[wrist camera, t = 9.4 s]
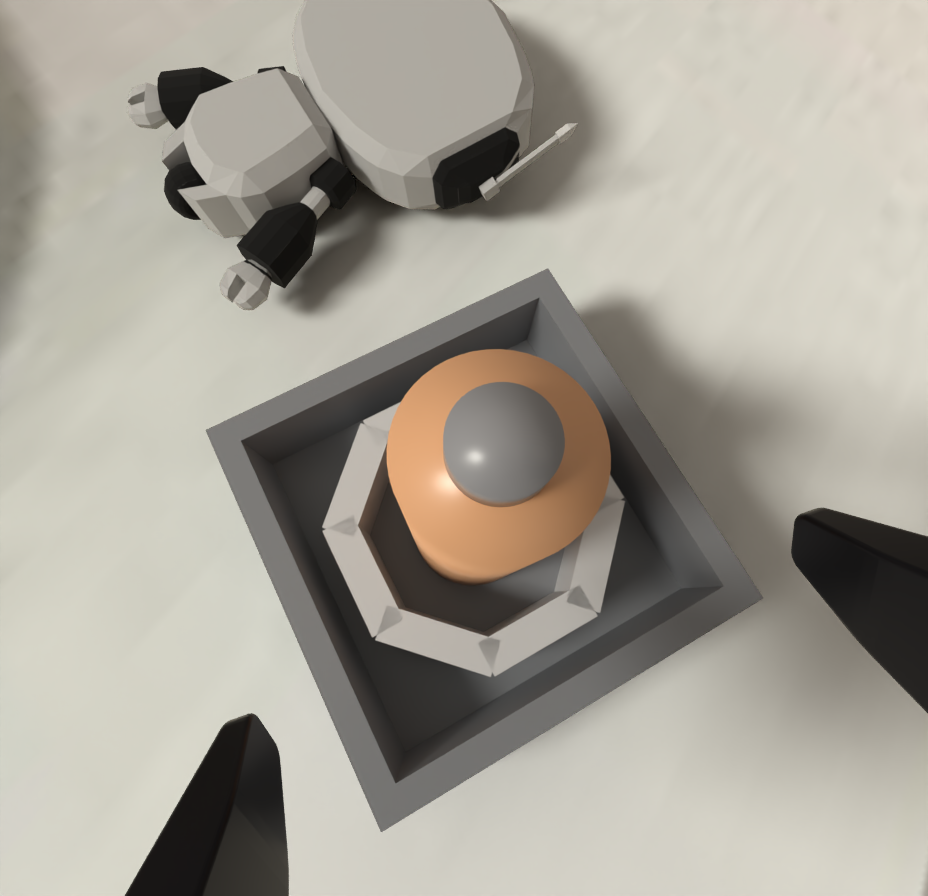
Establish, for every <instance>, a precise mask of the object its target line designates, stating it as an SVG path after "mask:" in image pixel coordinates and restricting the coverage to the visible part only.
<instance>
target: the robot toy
mask: <svg viewBox="0 0 928 896" xmlns="http://www.w3.org/2000/svg"><path fill="white" fill-rule="evenodd" d="M292 37H293V48H294V53H295V57H296V62H297V66H298V69H299V72H300V75H301V78H302V80H303V83H304V85H303V83H302V82H301V80H300V79H299V77H298V76H295V75H293V74H290V73H288V72H286V70H285V68H284V66H281V67H272V68H263V69H259V70H258V73H257V74H255V75H252V76H249V77H246V78H243V79H239V80H236V81H234V82H233V81H231V80H229V79H228V78H226V77H224V76H222V75H219V74H217V73H215V72H213V71H211V70H208V69H206V68H204V67H199V68H190V69H182V70H173V71H164V72H161V73H160V75H159V77H158V87H157V86H154V85H152V84H149V83H145V84H142V85H139V86H136V87H134V88H132V89H131V91H130V93H129V95H128V102H129V103H130V104H131V106H129V107H127V113H128V115H129V117H130V119H131V120H132V121H133V122H134V123H135V124H136V125H138V126H139V127H143V128H151V129H157V128H159V127H160V126H162V125H163V124H165V123H166V122H167V121H169V122H170V123H171V124H172V126H173V127H174V128H175V129H176V131H175V132H174V133H173V134H171V135H170V136H169V137H168V138H167V139H166V140H165V141H164V145H163V157H162V162H163V163H164V164H165V165H166V167H167V168H168V169H169V172H168V174H167V176H166V178H165V186H164V192H165V195H166V198H167V199H168V201H169V203H170V205H171V207H172V208H173V209H174V210H175V211H177V212H178V213H179V214H181V215H182V216H183V217H186V218H189V219H193V220H202V221H203V223H204V224H205V225H206V226H207V228H208V229H210V230H212V231H213V232H215V233H217V234H218V235H220V236H222V237H223V238H229V237H234V236H240V235H245V236H244V237H243V239H242V240H241V241H240V242H239V243H238V244H237V247H238V248H239V250H240V252H241V254H242V255H243V256H244V258H245V259H246V260H245V261H243V262H241V263H238V264H236V265H234V266H231V267H229V268H227V270H226V272H225V274H224V276H223V278H222V280H221V282H220V283H219V284H220V288H221V292H222V295H223V296H224V297H226V298H227V299H228V300H230V301H231V302H233V301H234V302H235V303H236V304H237V305H238V306H239V307H240V308H242V309H243V310H254V309H255V308H257V307H258V306H259V305H260V304H262V303H263V302H264V301H266V300H267V298H268V294H269V289H270V285H271V281H272V282H274V283H275V284H277V285H279V286H281V287H283V288H285V287H286V286H287V285H288V283H289V282H290V281H291V280H292V279H293V277H294V276H295V275H296V274H297V273H298V271H299V270H300V269H301V268H302V267H303V265H304V264H305V263H306V262H307V260H308V259H309V258H310V257H311V256H312V251H313V245H314V240H315V235H316V226H317V219H318V218H319V217H320V216H321V215H322V214H323V212H324V211H325V210H326V209H327V208H328V206H330V207H333V208H337V209H341V208H342V207H343V206H344V204H345V203H346V202H347V201H348V200H349V198H350V197H351V196H352V195H353V194H354V192H355V191H356V186H355V181H354V179H353V177H352V175H351V173H350V171H351V172H352V173H353V174H354V175H355V176H356V177H357V178H358V179H359V180H360V181H361V182H362V183H364V184H365V185H366V186H367V187H368V188H370V189H371V190H372V191H373V192H374V193H376V194H377V195H379V196H380V197H382V198H383V199H385V200H387V201H389V202H392V203H395V204H397V205H400V206H403V207H406V208H408V209H437V208H439V207H442V208H443V209H448V208H454V207H456V206H459V205H462V204H465V203H470V202H473V201H474V200H476V199H478V198H480V197H482V196H483V197H484V198H485V200H486V201H488V200H490V199H491V198H492V197H494V196H495V195H496V194H498V193H499V192H500V190H499V187H501V186H502V185H503V184H504V183H506V182H507V181H508V180H510V179H511V178H512V177H514V176H515V175H517V174H518V173H519V172H521V171H522V170H523V169H525V168H526V167H527V166H529V165H530V164H531V163H533V162H534V161H535V160H537V159H538V158H539V157H541V156H542V155H543V154H545V153H546V152H547V151H549V150H550V149H551V148H553V147H554V146H555V145H557V144H558V143H560V144H561V143H562V142H564V141H565V140H566V139H568V138H569V137H570V136H572V134H573V132H574V130H575V128H576V126H577V124H578V123H568V124H565V125H564V126H563V127H561V128H560V129H559V130H557V131H556V132H555V135H554V136H553V137H551V138H550V139H549V140H547V141H546V142H545V143H543V144H542V145H541V146H539V147H538V148H537V149H535V150H534V151H533V152H531V153H530V154H529V155H527V156H526V157H525V158H523V159H522V160H521V161H519V157H520V156H521V155H522V154H523V152H524V151H525V150H526V149H527V147H528V146H529V138H530V128H531V118H532V107H533V95H534V81H533V75H532V71H531V68H530V66H529V63H528V60H527V57H526V54H525V51H524V49H523V47H522V46H521V44H520V42H519V40H518V38H517V36H516V34H515V32H514V30H513V28H512V26H511V25H510V23H509V21H508V19H507V17H506V15H505V13H504V12H503V11H502V10H501V9H500V8H499V7H498V6H497V5H496V4H495V3H493V2H492V1H491V0H305V1H304V3H303V4H302V6H301V8H300V9H299V11H298V13H297V15H296V20H295V25H294V30H293V35H292ZM343 163H344V164H345V165H346V166H347V167H348V169H347V168H346V167H345V166H344V164H343ZM349 170H350V171H349Z"/></svg>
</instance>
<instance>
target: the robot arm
mask: <svg viewBox="0 0 928 896" xmlns="http://www.w3.org/2000/svg"><path fill="white" fill-rule="evenodd" d="M791 553H792V558H793V560H794V562H795V564H796V566H797V567H798V568H799V570H800V571H801V572H802V573H803V575H804V576H805V577H806V578H807V580H808V581H809V582H810V583H811V584H812V586H813V587H814V588H815V589H816V591H817V592H818V593H819V594H820V596H821V597H822V598H823V599H824V600H825V602H826V603H827V604H828V605H829V607H830V608H831V609H832V610H833V612H834V613H835V614H836V615H837V616H838V618H839V619H840V620H841V621H842V623H843V624H844V625H845V626H846V628H847V629H848V630H849V631H850V632H851V634H852V635H853V636H854V637H855V638H856V639H857V640H858V642H859V643H860V644H861V645H862V646H863V647H864V648H865V649H866V650H867V651H868V652H869V654H870V655H871V656H872V657H873V658H874V659H875V660H876V661H877V662H878V663H879V664H880V665H881V666H882V667H883V668H884V669H885V670H886V671H887V672H888V673H889V674H890V675H891V676H892V677H893V678H894V679H895V680H896V681H897V682H898V683H899V684H900V685H901V686H902V687H903V688H904V689H905V690H906V691H907V693H908V694H909V695H910V696H911V697H912V698H913V699H914V700H915V701H916V702H917V703H918V704H919V705H920V706H921V707H922V708H923V709H924V710H925V711H926V712H927V713H928V536H924V535H920V534H917V533H913V532H910V531H906V530H902V529H899V528H895V527H892V526H888V525H884V524H881V523H877V522H874V521H870V520H867V519H863V518H859V517H856V516H852V515H849V514H845V513H841V512H838V511H834V510H831V509H827V508H816V509H813V510H811V511H808V512H805V513H802V514H800V515H798V516H797V518H796V519H795V522H794V531H793V540H792V549H791ZM125 896H289V867H288V851H287V838H286V826H285V814H284V802H283V790H282V777H281V765H280V756H279V751H278V748H277V746H276V743H275V742H274V740H273V739H272V737H271V736H270V734H269V733H268V731H267V730H266V728H265V727H264V725H263V724H262V722H261V721H260V719H259V718H258V717H257V716H256V715H255V714H252V713H251V714H247V715H244V716H241V717H238V718H236V719H233V720H230V721H228V722H227V723H225V724H224V725H223V727H222V728H221V729H220V731H219V733H218V735H217V736H216V738H215V740H214V742H213V743H212V745H211V747H210V748H209V750H208V752H207V754H206V755H205V757H204V759H203V761H202V762H201V764H200V766H199V768H198V769H197V771H196V773H195V774H194V776H193V778H192V780H191V781H190V783H189V785H188V787H187V788H186V790H185V792H184V794H183V795H182V797H181V799H180V801H179V802H178V804H177V806H176V807H175V809H174V811H173V813H172V814H171V816H170V818H169V820H168V821H167V823H166V825H165V827H164V828H163V830H162V832H161V834H160V835H159V837H158V839H157V840H156V842H155V844H154V846H153V847H152V849H151V851H150V853H149V854H148V856H147V858H146V860H145V861H144V863H143V865H142V866H141V868H140V870H139V872H138V873H137V875H136V877H135V879H134V880H133V882H132V884H131V886H130V887H129V889H128V891H127V893H126V894H125Z"/></svg>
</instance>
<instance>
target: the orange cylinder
mask: <svg viewBox="0 0 928 896" xmlns="http://www.w3.org/2000/svg"><path fill="white" fill-rule="evenodd" d="M387 468H388V475H389V479H390V483H391V486H392V490H393V493H394V495H395V497H396V499H397V502H398V504H399V506H400V509H401V511H402V513H403V515H404V518H405V520H406V522H407V524H408V527H409V529H410V531H411V533H412V536H413V538H414V540H415V543H416V545H417V547H418V549H419V552H420V554H421V556H422V557H423V559H424V560H425V562H426V563H427V564H428V565H429V567H430V568H431V569H432V570H433V571H435V572H436V573H437V574H438V575H440V576H441V577H443V578H445V579H447V580H449V581H451V582H454V583H457V584H462V585H470V586H474V585H483V584H488V583H491V582H494V581H496V580H498V579H501V578H503V577H505V576H507V575H509V574H511V573H513V572H516V571H518V570H520V569H522V568H524V567H526V566H529V565H531V564H533V563H535V562H537V561H539V560H541V559H544V558H546V557H548V556H550V555H552V554H554V553H556V552H558V551H560V550H561V549H563V548H564V547H566V546H567V545H569V544H570V543H571V542H572V541H573V540H575V539H576V538H577V537H578V536H579V535H580V534H581V533H582V532H583V531H584V530H585V529H586V527H587V526H588V525H589V524H590V523H591V521H592V520H593V518H594V517H595V515H596V513H597V512H598V510H599V508H600V506H601V504H602V501H603V499H604V497H605V494H606V490H607V487H608V484H609V477H610V471H611V452H610V443H609V438H608V434H607V430H606V427H605V424H604V422H603V419H602V417H601V414H600V413H599V411H598V409H597V407H596V405H595V404H594V402H593V401H592V399H591V398H590V396H589V395H588V394H587V392H586V391H585V390H584V389H583V388H582V387H581V386H580V385H579V384H578V383H577V381H576V380H574V379H573V378H572V377H571V376H570V375H568V374H567V373H566V372H565V371H563V370H562V369H560V368H558V367H557V366H555V365H554V364H552V363H550V362H548V361H546V360H544V359H542V358H539V357H536V356H533V355H531V354H528V353H523V352H519V351H514V350H504V349H485V350H479V351H472V352H468V353H465V354H461V355H458V356H455V357H453V358H451V359H448V360H446V361H444V362H442V363H440V364H439V365H437V366H435V367H434V368H432V369H431V370H430V371H428V372H427V373H426V374H424V375H423V376H422V377H421V378H420V379H419V380H418V381H417V382H416V383H415V384H414V385H413V386H412V387H411V388H410V390H409V391H408V392H407V393H406V395H405V396H404V398H403V399H402V401H401V403H400V405H399V406H398V408H397V410H396V413H395V415H394V417H393V420H392V423H391V427H390V430H389V434H388V441H387Z"/></svg>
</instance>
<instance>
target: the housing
mask: <svg viewBox="0 0 928 896" xmlns="http://www.w3.org/2000/svg"><path fill="white" fill-rule="evenodd" d="M485 349H504V350H514V351H519V352H523V353H528V354H531V355H533V356H536V357H539V358H542V359H544V360H546V361H548V362H550V363H552V364H554V365H555V366H557V367H558V368H560V369H562V370H563V371H565V372H566V373H567V374H568V375H570V376H571V377H572V378H573V379H574V380H576V381H577V383H578V384H579V385H580V386H581V387H582V388H583V389H584V390H585V391H586V392H587V394H588V395H589V396H590V398H591V399H592V401H593V402H594V404H595V405H596V407H597V409H598V411H599V413H600V414H601V417H602V419H603V422H604V424H605V427H606V430H607V434H608V438H609V443H610V452H611V471H610V477H609V484H608V487H607V490H606V494H605V497H604V499H603V501H602V504H601V506H600V508H599V510H598V512H597V513H596V515H595V517H594V518H593V520H592V521H591V523H590V524H589V525H588V526H587V527H586V529H585V530H584V531H583V532H582V533H581V534H580V535H579V536H578V537H577V538H576V539H575V540H573V541H572V542H571V543H570V544H569V545H567V546H566V547H564V548H563V549H561V550H560V551H558V552H556V553H554V554H552V555H550V556H548V557H546V558H544V559H541V560H539V561H537V562H535V563H533V564H531V565H529V566H526V567H524V568H522V569H520V570H518V571H516V572H513V573H511V574H509V575H507V576H505V577H503V578H501V579H498V580H496V581H494V582H491V583H488V584H483V585H474V586H470V585H462V584H457V583H454V582H451V581H449V580H447V579H445V578H443V577H441V576H440V575H438V574H437V573H436V572H435V571H433V570H432V569H431V568H430V567H429V565H428V564H427V563H426V562H425V560H424V559H423V557H422V556H421V554H420V552H419V549H418V547H417V545H416V543H415V540H414V538H413V536H412V533H411V531H410V529H409V527H408V524H407V522H406V520H405V518H404V515H403V513H402V511H401V509H400V506H399V504H398V502H397V499H396V497H395V495H394V493H393V490H392V486H391V483H390V479H389V475H388V468H387V441H388V434H389V430H390V427H391V423H392V420H393V417H394V415H395V413H396V410H397V408H398V406H399V405H400V403H401V401H402V399H403V398H404V396H405V395H406V393H407V392H408V391H409V390H410V388H411V387H412V386H413V385H414V384H415V383H416V382H417V381H418V380H419V379H420V378H421V377H422V376H423V375H424V374H426V373H427V372H428V371H430V370H431V369H432V368H434V367H435V366H437V365H439V364H440V363H442V362H444V361H446V360H448V359H451V358H453V357H455V356H458V355H461V354H465V353H468V352H472V351H479V350H485ZM206 432H207V435H208V437H209V439H210V441H211V444H212V446H213V448H214V451H215V453H216V455H217V457H218V460H219V462H220V464H221V467H222V469H223V471H224V473H225V476H226V478H227V480H228V483H229V485H230V487H231V490H232V492H233V494H234V496H235V499H236V501H237V503H238V506H239V508H240V510H241V512H242V515H243V517H244V519H245V522H246V524H247V526H248V528H249V531H250V533H251V535H252V538H253V540H254V542H255V544H256V547H257V549H258V551H259V554H260V556H261V558H262V560H263V563H264V565H265V567H266V570H267V572H268V574H269V577H270V579H271V581H272V583H273V586H274V588H275V590H276V593H277V595H278V597H279V599H280V602H281V604H282V606H283V609H284V611H285V613H286V615H287V618H288V620H289V622H290V625H291V627H292V629H293V631H294V634H295V636H296V638H297V641H298V643H299V645H300V648H301V650H302V652H303V654H304V657H305V659H306V661H307V664H308V666H309V668H310V670H311V673H312V675H313V677H314V680H315V682H316V684H317V686H318V689H319V691H320V693H321V696H322V698H323V700H324V702H325V705H326V707H327V709H328V712H329V714H330V716H331V719H332V721H333V723H334V725H335V728H336V730H337V732H338V735H339V737H340V739H341V741H342V744H343V746H344V748H345V751H346V753H347V755H348V757H349V760H350V762H351V764H352V767H353V769H354V771H355V773H356V776H357V778H358V780H359V783H360V785H361V787H362V790H363V792H364V794H365V796H366V799H367V801H368V803H369V806H370V808H371V810H372V812H373V815H374V817H375V819H376V822H377V824H378V826H379V828H380V831H381V832H382V831H384V830H386V829H387V828H389V827H391V826H392V825H394V824H396V823H397V822H399V821H400V820H402V819H404V818H405V817H407V816H409V815H410V814H412V813H413V812H415V811H417V810H418V809H420V808H422V807H423V806H425V805H427V804H428V803H430V802H431V801H433V800H435V799H436V798H438V797H440V796H441V795H443V794H444V793H446V792H448V791H449V790H451V789H453V788H454V787H456V786H458V785H459V784H461V783H462V782H464V781H466V780H467V779H469V778H471V777H472V776H474V775H475V774H477V773H479V772H480V771H482V770H484V769H485V768H487V767H489V766H490V765H492V764H493V763H495V762H497V761H498V760H500V759H502V758H503V757H505V756H506V755H508V754H510V753H511V752H513V751H515V750H516V749H518V748H520V747H521V746H523V745H524V744H526V743H528V742H529V741H531V740H533V739H534V738H536V737H538V736H539V735H541V734H542V733H544V732H546V731H547V730H549V729H551V728H552V727H554V726H555V725H557V724H559V723H560V722H562V721H564V720H565V719H567V718H569V717H570V716H572V715H573V714H575V713H577V712H578V711H580V710H582V709H583V708H585V707H586V706H588V705H590V704H591V703H593V702H595V701H596V700H598V699H600V698H601V697H603V696H604V695H606V694H608V693H609V692H611V691H613V690H614V689H616V688H617V687H619V686H621V685H622V684H624V683H626V682H627V681H629V680H631V679H632V678H634V677H635V676H637V675H639V674H640V673H642V672H644V671H645V670H647V669H648V668H650V667H652V666H653V665H655V664H657V663H658V662H660V661H662V660H663V659H665V658H666V657H668V656H670V655H671V654H673V653H675V652H676V651H678V650H679V649H681V648H683V647H684V646H686V645H688V644H689V643H691V642H693V641H694V640H696V639H697V638H699V637H701V636H702V635H704V634H706V633H707V632H709V631H710V630H712V629H714V628H715V627H717V626H719V625H720V624H722V623H724V622H725V621H727V620H728V619H730V618H732V617H733V616H735V615H737V614H738V613H740V612H741V611H743V610H745V609H746V608H748V607H750V606H751V605H753V604H755V603H756V602H758V601H759V600H761V599H763V597H762V595H761V594H760V592H759V591H758V589H757V588H756V586H755V585H754V583H753V581H752V580H751V578H750V577H749V575H748V574H747V572H746V571H745V569H744V568H743V566H742V565H741V563H740V562H739V560H738V559H737V557H736V555H735V554H734V552H733V551H732V549H731V548H730V546H729V545H728V543H727V542H726V540H725V539H724V537H723V536H722V534H721V533H720V531H719V529H718V528H717V526H716V525H715V523H714V522H713V520H712V519H711V517H710V516H709V514H708V513H707V511H706V510H705V508H704V507H703V505H702V503H701V502H700V500H699V499H698V497H697V496H696V494H695V493H694V491H693V490H692V488H691V487H690V485H689V484H688V482H687V481H686V479H685V477H684V476H683V474H682V473H681V471H680V470H679V468H678V467H677V465H676V464H675V462H674V461H673V459H672V458H671V456H670V454H669V453H668V451H667V450H666V448H665V447H664V445H663V444H662V442H661V441H660V439H659V438H658V436H657V435H656V433H655V432H654V430H653V428H652V427H651V425H650V424H649V422H648V421H647V419H646V418H645V416H644V415H643V413H642V412H641V410H640V409H639V407H638V406H637V404H636V402H635V401H634V399H633V398H632V396H631V395H630V393H629V392H628V390H627V389H626V387H625V386H624V384H623V383H622V381H621V380H620V378H619V376H618V375H617V373H616V372H615V370H614V369H613V367H612V366H611V364H610V363H609V361H608V360H607V358H606V357H605V355H604V354H603V352H602V350H601V349H600V347H599V346H598V344H597V343H596V341H595V340H594V338H593V337H592V335H591V334H590V332H589V331H588V329H587V328H586V326H585V324H584V323H583V321H582V320H581V318H580V317H579V315H578V314H577V312H576V311H575V309H574V308H573V306H572V305H571V303H570V301H569V300H568V298H567V297H566V295H565V294H564V292H563V291H562V289H561V288H560V286H559V285H558V283H557V282H556V280H555V279H554V277H553V275H552V274H551V272H550V271H549V269H546V270H544V271H541V272H539V273H537V274H535V275H533V276H531V277H529V278H527V279H524V280H522V281H520V282H518V283H516V284H514V285H512V286H510V287H508V288H505V289H503V290H501V291H499V292H497V293H495V294H493V295H491V296H488V297H486V298H484V299H482V300H480V301H478V302H476V303H474V304H472V305H469V306H467V307H465V308H463V309H461V310H459V311H457V312H455V313H453V314H450V315H448V316H446V317H444V318H442V319H440V320H438V321H436V322H433V323H431V324H429V325H427V326H425V327H423V328H421V329H419V330H417V331H414V332H412V333H410V334H408V335H406V336H404V337H402V338H400V339H397V340H395V341H393V342H391V343H389V344H387V345H385V346H383V347H381V348H378V349H376V350H374V351H372V352H370V353H368V354H366V355H364V356H362V357H359V358H357V359H355V360H353V361H351V362H349V363H347V364H345V365H342V366H340V367H338V368H336V369H334V370H332V371H330V372H328V373H326V374H323V375H321V376H319V377H317V378H315V379H313V380H311V381H309V382H306V383H304V384H302V385H300V386H298V387H296V388H294V389H292V390H290V391H287V392H285V393H283V394H281V395H279V396H277V397H275V398H273V399H270V400H268V401H266V402H264V403H262V404H260V405H258V406H256V407H254V408H251V409H249V410H247V411H245V412H243V413H241V414H239V415H237V416H235V417H232V418H230V419H228V420H226V421H224V422H222V423H220V424H218V425H215V426H213V427H211V428H209V429H207V430H206Z"/></svg>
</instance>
